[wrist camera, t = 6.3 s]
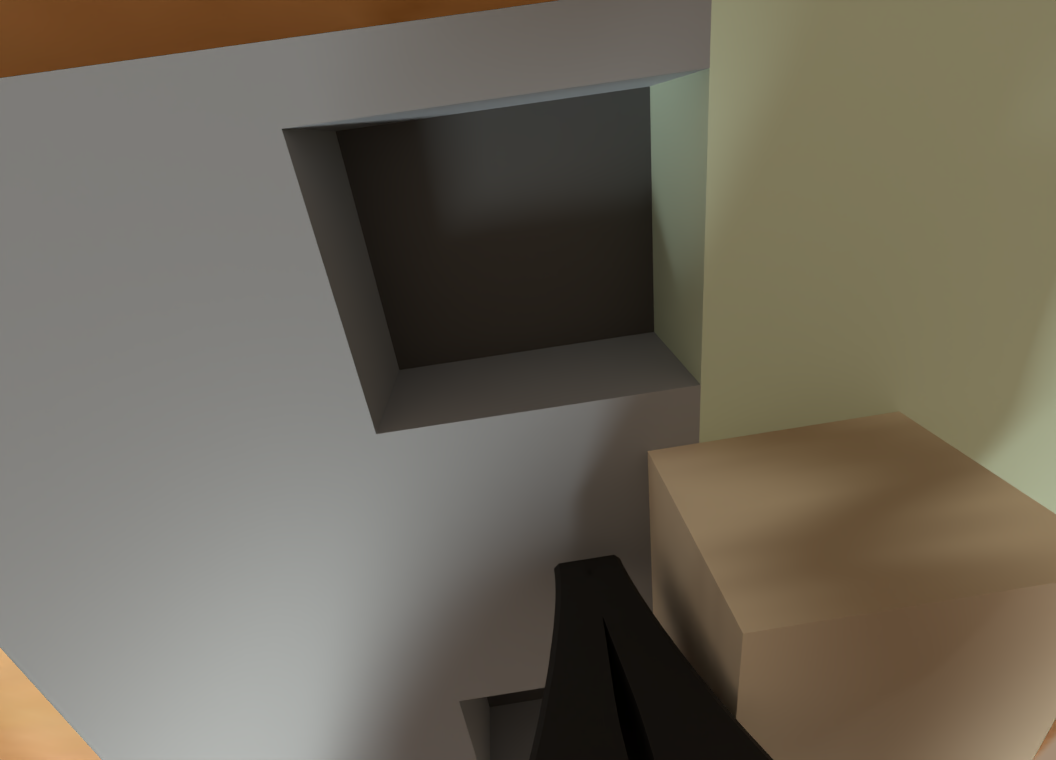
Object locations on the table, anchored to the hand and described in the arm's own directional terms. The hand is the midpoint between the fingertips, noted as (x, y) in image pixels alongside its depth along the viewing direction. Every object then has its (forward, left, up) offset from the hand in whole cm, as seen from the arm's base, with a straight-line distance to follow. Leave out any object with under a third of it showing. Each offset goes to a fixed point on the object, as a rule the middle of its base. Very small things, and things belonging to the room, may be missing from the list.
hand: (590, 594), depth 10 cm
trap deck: (+4, +4, -4) cm, 6 cm away
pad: (-5, -5, -4) cm, 8 cm away
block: (-3, -3, -1) cm, 4 cm away
